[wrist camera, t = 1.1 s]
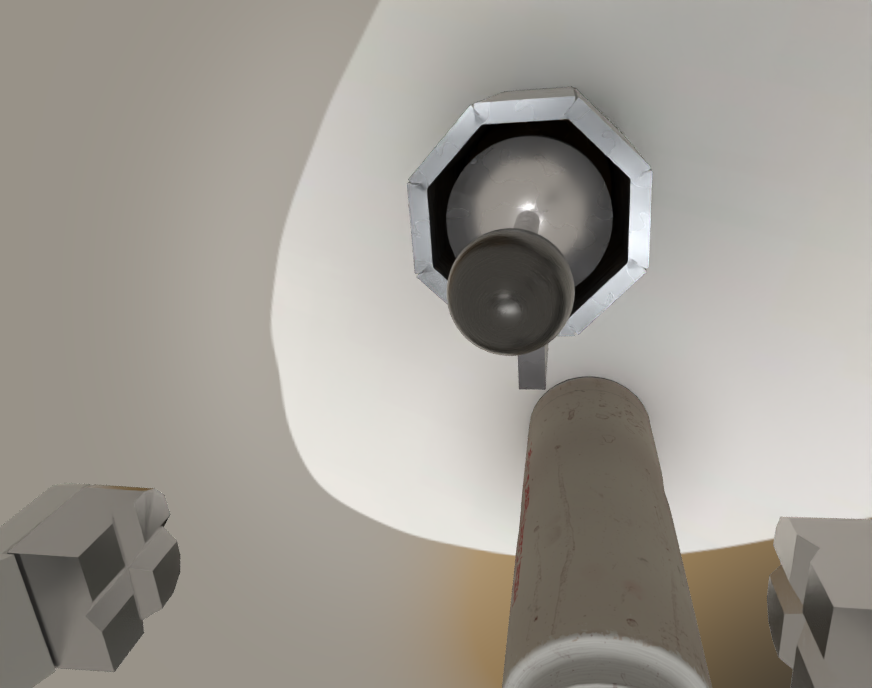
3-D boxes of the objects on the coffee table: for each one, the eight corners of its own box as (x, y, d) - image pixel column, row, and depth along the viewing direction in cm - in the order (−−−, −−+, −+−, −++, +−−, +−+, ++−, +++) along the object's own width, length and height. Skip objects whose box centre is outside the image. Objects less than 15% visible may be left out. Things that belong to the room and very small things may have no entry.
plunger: (613, 129, 27) (646, 172, 16) (609, 293, 29) (636, 431, 18) (443, 139, 28) (363, 186, 17) (454, 296, 31) (390, 426, 20)
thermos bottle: (527, 475, 48) (482, 938, 22) (531, 372, 45) (485, 771, 20) (644, 485, 47) (738, 989, 21) (656, 379, 44) (782, 818, 18)
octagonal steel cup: (625, 82, 38) (656, 90, 25) (620, 299, 42) (642, 400, 29) (454, 95, 39) (400, 108, 27) (466, 302, 44) (425, 397, 31)
